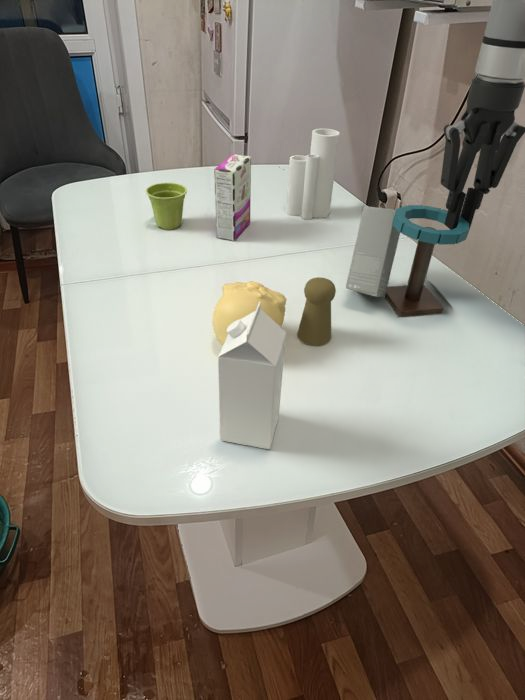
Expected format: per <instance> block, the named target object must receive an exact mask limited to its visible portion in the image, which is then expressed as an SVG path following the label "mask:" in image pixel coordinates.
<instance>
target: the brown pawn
mask: <svg viewBox="0 0 525 700" xmlns="http://www.w3.org/2000/svg"><path fill="white" fill-rule="evenodd" d="M336 289H337V288H336V286H335V284H334V282H333V281H332V280H330V279H328V278H326V277H319V276H317V277H313V278H310V279H309V280H307V282H306V283H305V286H304V289H303V293H304V297H305V303H304V307H303V311H302V314H301V318H300V322H299V326H298V329H297V333H296V335H297V338H298V340H299V341H300V342H302V343H303V344H305V345H308V346H313V347H321V346H325V345H328V344H329V343H330V342H331V340H332V301H333V300H334V299H335V297H336V293H337V290H336Z"/></svg>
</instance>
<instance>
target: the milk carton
mask: <svg viewBox="0 0 525 700" xmlns="http://www.w3.org/2000/svg"><path fill="white" fill-rule="evenodd" d="M227 333H228V336H227V338H226V340H225V342H224V345H222V347H221V349H220V351H219V354H218V356H217V361H218V362H217V366H218V367H217V370H218V372H217V373H218V374H217V375H218V415H219V419H218V421H219V441H223V442H228V443H233V444H239V445H244V446H249V447H253V448H254V447H255V448H260V449H266V450H271V447H272V443H273V440H274V436H275V432H276V429H277V425H278V421H279V417H280V410H281V409H280V408H281V395H282V385H283V372H284V371H283V370H284V359H285V348H286V346H285V345H286V335H287V332H286V330H285V329H284V328H282V327H280V326H279V325H278V324H277V323H276V322H275V321H273V320H272V319H271V318H270V317H269V316H268V315H267V314H266V313H265V312H264V311H262V310H261V302H259V303H258V306H257V308H256V311H254V312H252V313H251V314H249V315H247V316H245V317H244V318H242V319H240V320H236V321H234V322H233V323H231V324H230V325H229V326H228V328H227Z"/></svg>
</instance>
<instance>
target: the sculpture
mask: <svg viewBox="0 0 525 700" xmlns="http://www.w3.org/2000/svg"><path fill="white" fill-rule="evenodd" d="M221 289H222V294H221V296H220V297H219V299H218V300H217V302H216V304H215V307H214V310H213V313H212V319H211V320H212V330H213V333H214V335H215V337H216V339H217V341H218V342H219V343H220V344H221V346H223V345H224V342H225V340H226V338H227V336H228V333H227V328H228V326H229V325H230V324H231V323H233V322H234V321H236V320H240V319H242V318H244V317H245V316H247V315H249V314H251V313H252V312H254V311H256V308H257V306H258V303H259V302H261V310H262V311H264V312H265V313H266V314H267V315H268V316H269V317H270V318H271V319H272V320H273V321H275V322H276V323H277V324H278V325H279V326H280V327H281V328H282V327H283V324H284V321H285V315H286V314H285V313H286V304H287V297H286V296H285V295H284V294H282V293H281V292H278V291H276V290H273V289H270V288H268V287H267V286H265V285H263V284H262V283H260V282H257V281H253V280H251V281H250V280H249V281H247V282H241V281H236V282H232V283H231V282H229V283H224V284H223V285H222V286H221Z"/></svg>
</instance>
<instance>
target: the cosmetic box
mask: <svg viewBox="0 0 525 700" xmlns="http://www.w3.org/2000/svg"><path fill="white" fill-rule="evenodd" d="M395 211H396V209H392V208H384V207H383V208H382V207H376V206H375V207H374V206H368V205H364V206H363V209H362V213H361V218H360V222H359V227H358V231H357V236H356V240H355V243H354V248H353V253H352V256H351V262H350V267H349V271H348V275H347V279H346V284H345V289H347V290H349V291H353V292H356V293H360V294H364V295H368V296H371V297H377V298H385V294H386V290H387V287H389V286H388V285H389V280H390V277H391V273H392V269H393V264H394V260H395V256H396V253H397V247H398V244H399V240H400V236H401V233H400V232H399V231H398V230H397V229H396V228H395V227H394V226H393V225H392V223H393V219H394V215H395Z"/></svg>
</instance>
